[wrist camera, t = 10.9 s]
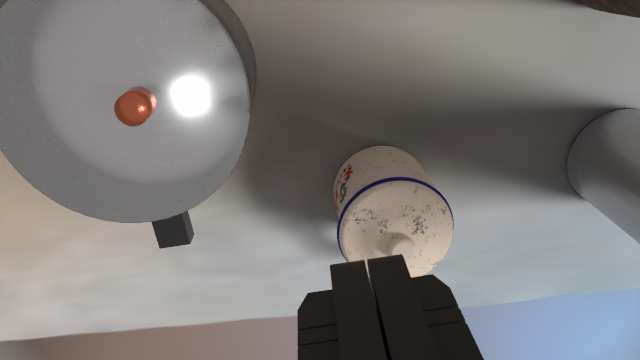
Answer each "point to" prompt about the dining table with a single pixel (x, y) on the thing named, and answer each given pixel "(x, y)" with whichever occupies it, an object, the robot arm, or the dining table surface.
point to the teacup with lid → (390, 210)
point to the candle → (616, 6)
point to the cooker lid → (121, 104)
